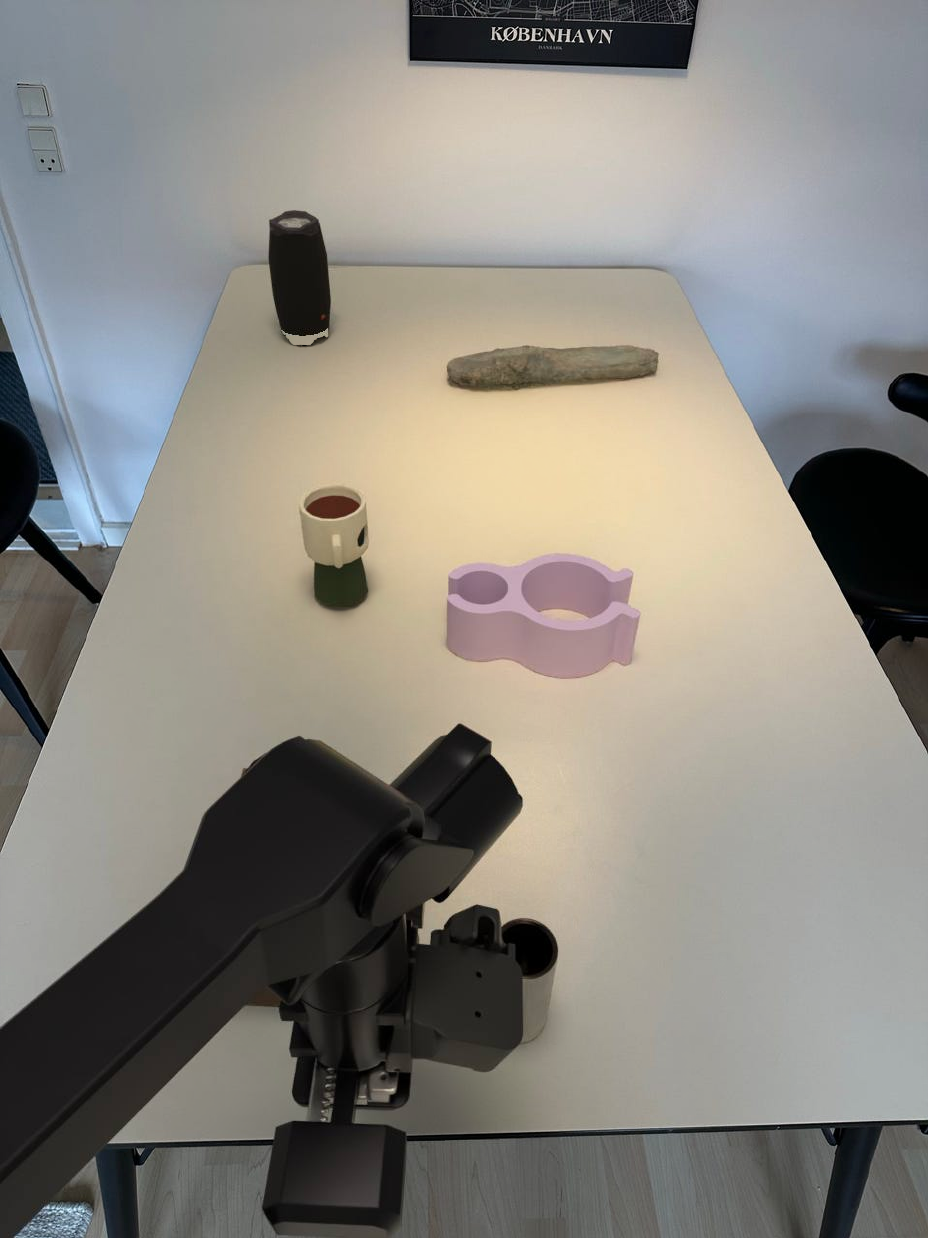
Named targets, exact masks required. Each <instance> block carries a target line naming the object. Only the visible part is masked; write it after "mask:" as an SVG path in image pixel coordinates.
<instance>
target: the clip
mask: <svg viewBox="0 0 928 1238" xmlns="http://www.w3.org/2000/svg"><path fill="white" fill-rule="evenodd" d="M633 578H634V571H633V570H632V569H630V568H628V567H624V568H621V569H619V570H613V569H611V568H610V567H609V566H607V565H606V564H604V563H602V562H601V561H598V560H595V559H594V558H591V557H587V556H584V555H579V554H574V553H549V554H543V555H540V556H536V557H533V558H531V559H529V560H527V561H525V562H523V563H520V564H518V565H511V566H506V565H499V564H496V563H491V562H472V563H467V564H462V565H460V566H458V567H456V568H454V569H453V570H451V571H450V572H449V573H448V581H447V583H448V587H447V590H448V591H447V593H448V594H447V597H446V648H447V649H448V650H449V651H450V652H451V653H452V654H454V655H455V656H457V657H460V658H461V659H464V660H468V661H472V662H490V661H495V660H502V659H503V660H511V661H514V662H517V663H519V664H521V665H522V666H524V667H525V668H527V669H528V670H530V671H532V672H534V673H537V674H540V675H543V676H545V677H546V676H547V677H551V678H558V679H576V678H582V677H587V676H590V675H593V674H595V673H597V672H599V671H601V670H602V669H604V668H606V667H607V666H608V665H609V664H610V663H611V662H615V663H618V664H620V665H622V666H629V664H630V663H632V657H633V652H634V648H635V643H636V639H637V638H636V637H637V634H638V628H639V623H640V619H641V611H640V610H639V609H638V608H635V607H633V606H631V605H629V600H630V595H631V594H630V593H631V590H632V584H633ZM553 609H557V610H559V609H561V610H568V611H569V610H570V611H573V612H576V613H579V614H582V615H584V616H586V617H588V618H587V619H581V620H563V619H557V618H554V617H549V616H547V615H545V614H543V613H540V612H541V611H542V612H543V611H545V610H553Z"/></svg>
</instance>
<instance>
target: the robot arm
mask: <svg viewBox="0 0 928 1238" xmlns="http://www.w3.org/2000/svg"><path fill="white" fill-rule="evenodd" d="M492 743H493V741H492V740H490V739H489V738H488V737H485V736H484V735H482V734H480V733H478V732H476V731H475V730H473V729H471V728H470V727H468V726H467V725H465V724H463V723H460V722H459V723H457V724H456V725H455V726H454V727H453V728H452V729H451V730H450V731H449V732H448V733H447V734H444V735H440V736H438V737H437V738H436V739H435V740H433V741H432V742H431V743H430V744H429V745H428V746H427V747H426V748H425V749H424V750H423V751H422V752H421V753H420V754H419V755H418V756H417V757H416V758H415V759H414V760H413V761H412V762H411V763H410V764H409V765H408V766H407V767H406V768H405V769H404V770H403V771H402V772H400V774H398V776H397V777H396V778H395V779H394V780H393V781H392V782H391V783H390V784H388V783H387V782H385V781H384V780H382V779H380V778H379V777H378V776H376V775H374V774H373V773H371V772H370V771H368V770H367V769H365V768H364V767H362V766H361V765H359V764H358V763H356V762H354V761H353V760H351V759H350V758H349V757H347V756H345V755H343V754H342V753H341V752H339V751H338V750H336V749H335V748H333V747H331V746H330V745H329V744H327V743H325V742H324V741H322V740H319V739H314V738H305V737H303V736H301V735H297V736H295V737H292V738H289V739H286V740H284V741H282V742H280V743H279V744H277V745H275V746H273V747H272V748H270V750H267V752H264V753H263V754H262V755H260V756H259V757H257V758H256V759H254V760H253V761H252V762H251V763H250V765H249V766H248V767H246V768H247V769H246V771H245V772H244V774H243V775H242V776H241V775H240V776H239V778H238V779H237V780H236V781H235V782H234V783H233V784H232V785H231V786H230V787H229V788H228V789H227V790H226V791H225V792H224V793H222V795H221V796H220V797H218V798H217V799H216V800H215V802H213V803H212V804H211V805H210V806H209V807H208V808H207V809H206V811H205V812H204V813H203V814H202V817H201V820H200V822H199V826H198V828H197V831H196V834H195V836H194V838H193V842H192V844H191V846H190V847H191V848H190V850H189V853H188V856H187V858H186V861H185V864H184V867H183V869H182V870H181V872H180V873H179V874H177V875H176V877H174V878H173V879H172V880H171V881H170V882H169V883H168V884H167V885H166V886H165V888H163V889H162V890H161V891H160V892H159V893H158V894H157V895H156V896H155V897H154V898H153V899H151V900H150V901H149V902H148V903H147V904H146V905H144V906H143V907H142V908H141V909H139V911H137V912H136V913H135V914H133V915H132V916H131V917H130V918H129V919H128V920H126V921H125V922H124V923H123V924H121V926H119V927H118V928H117V929H116V930H114V931H113V932H112V933H111V934H110V935H108V936H107V937H106V938H105V939H104V940H103V941H101V942H100V943H99V944H98V945H96V946H95V947H94V948H93V949H92V950H91V951H89V952H88V953H87V954H86V955H84V957H82V958H81V959H79V961H77V962H76V963H75V964H74V965H72V966H71V967H69V969H68V970H67V971H66V972H64V973H62V975H61V976H59V977H58V978H57V979H56V980H54V981H53V982H52V983H51V984H49V986H48V987H46V988H45V989H44V990H42V991H41V992H40V993H39V994H38V995H36V996H35V997H34V998H33V999H32V1000H31V1001H29V1002H28V1003H27V1004H26V1005H25V1006H24V1007H22V1008H21V1009H20V1010H18V1011H17V1012H16V1013H15V1014H14V1015H13V1016H12V1017H10V1018H9V1019H8V1020H7V1021H6V1022H4V1023H3V1024H2V1025H1V1026H0V1238H16V1237H17V1235H19V1233H20V1232H22V1231H23V1229H24V1228H25V1227H26V1226H27V1225H28V1224H29V1223H30V1222H31V1221H33V1219H34V1218H36V1216H38V1214H39V1213H40V1212H42V1210H44V1209H45V1207H46V1206H47V1205H49V1203H50V1202H51V1201H52V1200H53V1199H54V1198H55V1197H56V1196H57V1195H58V1194H59V1193H61V1191H63V1189H65V1187H66V1186H67V1185H68V1184H69V1183H70V1182H71V1181H72V1180H73V1179H74V1178H75V1177H76V1176H77V1175H78V1174H79V1173H80V1172H81V1171H82V1170H83V1169H84V1168H85V1167H86V1166H87V1165H89V1163H90V1162H91V1161H92V1160H93V1159H94V1158H95V1157H96V1156H97V1155H98V1154H99V1153H100V1152H101V1151H102V1150H103V1149H104V1148H105V1147H106V1146H107V1145H108V1144H109V1143H110V1142H111V1141H112V1140H113V1139H114V1138H115V1137H116V1136H117V1135H118V1134H119V1133H120V1132H121V1131H122V1130H123V1129H124V1128H125V1127H126V1126H127V1125H128V1124H129V1123H130V1122H131V1121H132V1119H133V1118H134V1117H136V1115H137V1114H139V1113H140V1112H141V1110H143V1108H144V1107H145V1106H147V1104H149V1103H150V1101H151V1100H152V1099H154V1098H155V1096H157V1094H158V1093H160V1091H161V1090H162V1089H163V1088H165V1086H166V1085H168V1083H169V1082H170V1081H172V1079H173V1078H174V1077H175V1076H176V1075H177V1074H179V1072H181V1070H182V1069H183V1068H184V1067H185V1066H186V1065H187V1064H188V1063H189V1062H190V1061H191V1060H192V1059H193V1058H194V1057H196V1056H197V1054H198V1053H199V1052H200V1051H201V1050H202V1049H203V1048H204V1047H205V1046H206V1045H207V1044H208V1043H209V1042H210V1041H211V1040H212V1039H214V1037H215V1036H216V1035H217V1034H218V1033H219V1032H220V1031H221V1030H222V1029H223V1028H224V1027H225V1026H226V1025H227V1024H228V1023H229V1022H230V1021H231V1020H232V1019H233V1018H234V1017H235V1016H236V1015H237V1014H238V1013H239V1012H240V1011H241V1010H242V1009H243V1008H244V1007H246V1006H247V1005H246V1004H247V1003H248V1002H250V1001H251V1000H252V999H253V998H254V997H255V996H256V995H258V994H259V993H260V992H261V991H262V990H263V989H264V988H266V987H267V988H268V989H269V990H270V991H271V992H273V993H274V994H275V995H276V996H277V997H278V998H280V999H281V1002H280V1006H278V1013H279V1017H280V1021H281V1022H293V1023H292V1029H291V1035H290V1040H289V1046H288V1047H289V1048H288V1050H289V1054H290V1057H291V1058H296V1064H295V1069H294V1075H293V1081H292V1088H291V1095H292V1098H293V1101H294V1102H295V1103H296V1104H297V1105H298V1106H300V1107H302V1108H307V1114H306V1115H307V1116H306V1120H290V1121H288V1122H285V1123H283V1124H279V1125H277V1126H275V1129H274V1136H273V1141H272V1147H271V1153H270V1157H269V1165H268V1170H267V1175H266V1181H265V1188H264V1194H263V1200H262V1205H261V1210H262V1212H263V1214H264V1217H265V1219H266V1221H267V1223H268V1224H269V1226H270V1227H271V1228H272V1230H273V1231H274V1233H275V1234H276V1236H290V1237H291V1236H293V1237H312V1238H313V1237H315V1238H392V1236H394V1235H395V1234H396V1233H397V1231H398V1230H399V1229H400V1228H401V1227H402V1224H403V1210H404V1195H405V1184H406V1183H405V1182H406V1169H407V1148H408V1147H407V1146H408V1138H407V1137H408V1136H407V1131H404V1130H401V1129H399V1128H396V1127H393V1126H392V1125H389V1124H383V1123H382V1124H381V1123H362V1122H361V1123H359V1122H358V1123H357V1122H356V1115H357V1114H356V1113H357V1110H358V1111H359V1110H361V1111H379V1112H390V1111H394V1110H398V1109H401V1108H403V1107H404V1106H405V1105H406V1104H407V1103H408V1102H409V1099H410V1095H411V1082H412V1072H413V1061H414V1060H426V1061H430V1062H435V1063H439V1064H444V1065H451V1066H454V1067H455V1066H456V1067H461V1068H467V1069H471V1070H472V1071H473V1072H478V1073H489V1072H491V1071H493V1070H494V1069H496V1067H498V1065H499V1064H501V1063H502V1062H503V1061H504V1060H505V1059H506V1058H507V1057H508V1056H509V1055H510V1054H511V1053H512V1052H513V1051H514V1050H515V1049H517V1047H519V1045H521V1044H522V1043H521V1040H522V1038H523V978H522V971H521V968H520V966H519V964H518V963H517V962H516V960H515V944H511V943H508V944H505V943H504V942H503V940H502V935H501V927H502V920H501V912H500V910H499V909H498V908H495V907H490V906H486V905H482V904H477V903H476V904H473V905H472V906H469V907H467V908H464V909H463V910H460V911H457V912H456V913H453V914H452V915H450V917H449V918H448V919H447V921H446V922H445V923H444V925H443V929H441V928H439V929H438V928H437V929H433V930H431V932H430V938H429V939H430V940H429V941H430V942H429V943H428V944H427V943H420V935H419V930H422V929H423V927H424V921H425V908H426V903H427V902H428V901H430V900H433V902H435V903H437V904H442V903H444V902H445V901H446V900H447V899H448V898H449V897H450V896H451V895H452V893H453V892H455V890H456V889H457V888H458V886H459V885H460V884H461V883H462V882H463V881H464V879H465V878H466V877H467V876H468V875H469V874H470V872H472V870H473V869H474V868H475V867H476V865H477V864H478V863H479V862H480V861H481V859H482V858H483V857H484V856H485V855H486V854H487V853H488V851H489V850H490V849H491V848H492V846H494V844H495V843H496V842H497V841H498V840H499V838H500V837H501V836H502V835H503V834H504V833H505V831H506V830H507V829H508V828H509V827H510V826H511V825H512V823H514V821H515V820H516V819H517V817H518V816H519V815H520V814H521V812H522V809H523V807H524V798H523V796H522V795H521V794H520V793H519V790H518V788H517V786H516V784H515V782H514V780H513V778H512V776H511V775H510V774H509V772H508V771H507V769H505V767H504V765H502V764H501V763H500V761H499V760H498V759H496V757H495V756H494V755H493V754H492V746H493V745H492ZM330 1109H331V1114H330ZM328 1114H330V1121H329V1117H328V1116H326V1115H328Z"/></svg>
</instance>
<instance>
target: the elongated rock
mask: <svg viewBox="0 0 928 1238" xmlns="http://www.w3.org/2000/svg"><path fill="white" fill-rule="evenodd" d="M659 355H660V353H659V352H658V351H655V349H651V348H644V347H639V346H633V345H629V344H627V345H625V344H624V345H614V346H612V345H611V346H610V345H609V346H604V345H603V346H602V345H601V346H580V347H569V348H567V347H566V348H556V347H541V346H534V345H527V344H526V345H522V346H514V347H506V348H495V349H493V350H491V351H483V352H482V351H481V352H476V353H473V354H472V353H471V354H466V355H463V356H459V357H454V358H453V359H450V360H449V361H448V363H447V365H446V373H447V377H448V379H450V380H451V381H453V382H455V383H457V384H458V385H460V386H467V387H482V388H490V389H495V388H497V389H498V388H502V389H503V388H505V387H506V388H512V389H514V390H519V389H520V388H530V387H531V386H536V385H548V384H556V383H557V384H558V383H561V382H563V381H565V380H569V381H577V380H579V382H585V381H589V380H597V379H598V380H599V379H608V380H610V379H629V378H634V377H637V376H641V377H642V376H643V377H644V375H648V374H651V373H654V372H656V371H657V369H658V366H659V365H658V364H659Z"/></svg>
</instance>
